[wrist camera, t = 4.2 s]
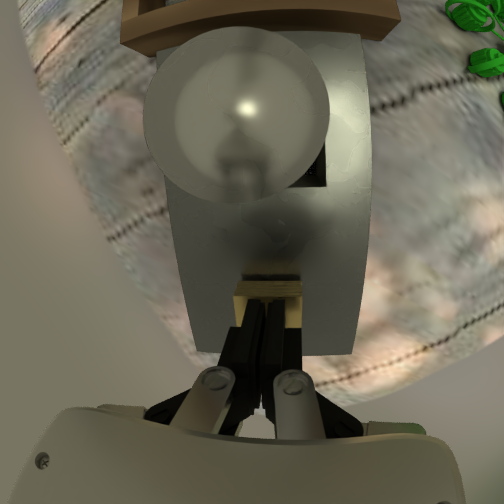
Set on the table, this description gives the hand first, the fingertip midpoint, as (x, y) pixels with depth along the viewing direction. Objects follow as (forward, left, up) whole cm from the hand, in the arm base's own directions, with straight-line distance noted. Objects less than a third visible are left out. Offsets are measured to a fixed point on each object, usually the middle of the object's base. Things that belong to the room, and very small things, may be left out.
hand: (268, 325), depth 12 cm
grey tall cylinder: (-9, 0, -8) cm, 11 cm away
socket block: (-5, 0, -8) cm, 9 cm away
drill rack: (-20, 0, -8) cm, 21 cm away
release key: (0, 0, -7) cm, 7 cm away
